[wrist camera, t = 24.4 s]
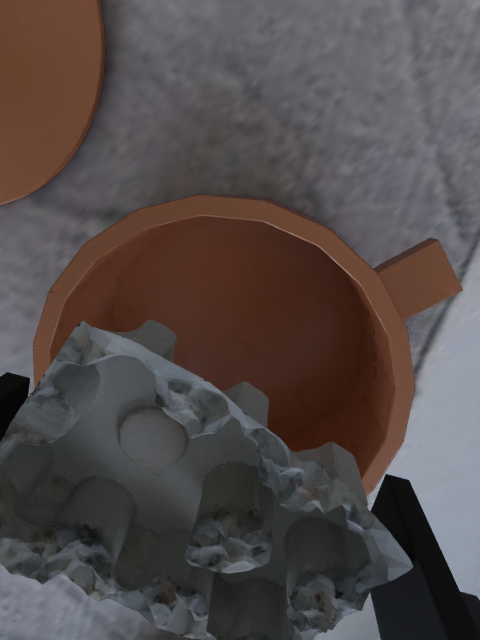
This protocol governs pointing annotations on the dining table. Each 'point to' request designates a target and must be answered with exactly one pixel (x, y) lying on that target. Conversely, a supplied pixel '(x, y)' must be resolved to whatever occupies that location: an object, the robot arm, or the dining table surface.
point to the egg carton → (183, 498)
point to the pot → (263, 314)
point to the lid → (46, 87)
